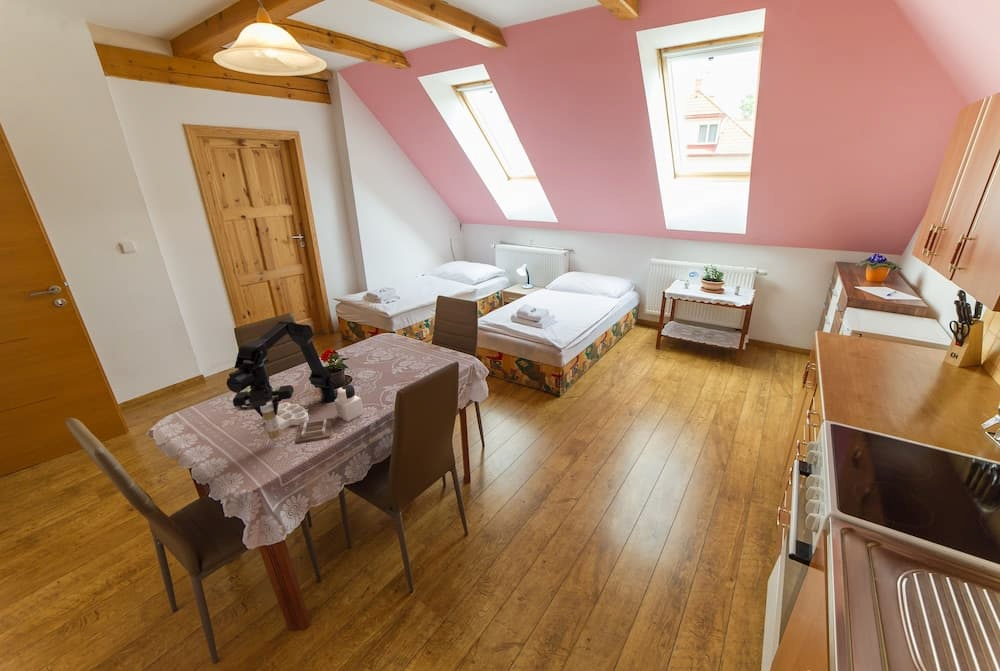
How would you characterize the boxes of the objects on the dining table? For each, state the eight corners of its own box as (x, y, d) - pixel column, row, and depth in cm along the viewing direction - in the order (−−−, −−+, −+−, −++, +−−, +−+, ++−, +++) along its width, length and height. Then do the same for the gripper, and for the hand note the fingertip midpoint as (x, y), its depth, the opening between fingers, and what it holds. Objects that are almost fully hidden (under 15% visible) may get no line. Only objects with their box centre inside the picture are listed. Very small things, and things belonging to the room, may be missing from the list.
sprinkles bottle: (279, 430, 161) (270, 400, 156) (283, 435, 158) (275, 404, 153) (266, 436, 158) (257, 405, 153) (271, 441, 155) (262, 410, 150)
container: (353, 407, 182) (348, 381, 177) (363, 413, 177) (359, 386, 172) (337, 415, 176) (331, 388, 171) (347, 422, 172) (342, 394, 167)
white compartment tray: (261, 420, 175) (294, 404, 186) (284, 434, 165) (317, 417, 176) (259, 413, 174) (292, 398, 185) (282, 427, 164) (316, 410, 175)
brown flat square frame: (301, 424, 171) (300, 420, 170) (332, 419, 174) (331, 414, 173) (296, 443, 159) (294, 438, 158) (329, 437, 162) (328, 432, 161)
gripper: (221, 393, 139) (235, 432, 145) (282, 384, 143) (293, 423, 150) (232, 378, 149) (244, 415, 155) (288, 370, 153) (298, 406, 160)
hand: (269, 415), depth 155 cm, fingers closed on sprinkles bottle, 4 cm apart
